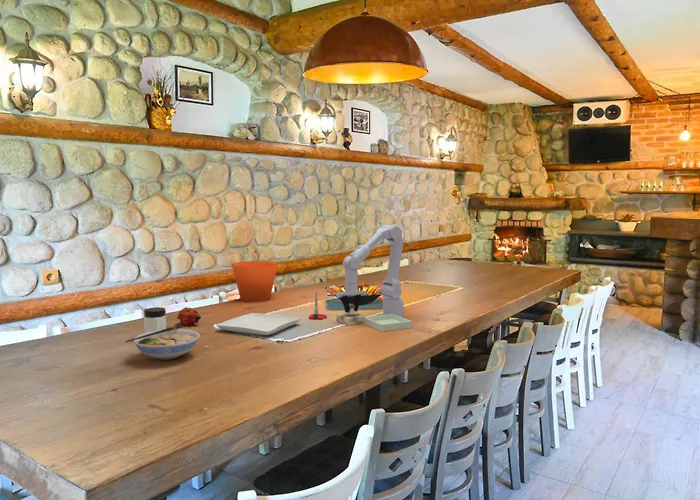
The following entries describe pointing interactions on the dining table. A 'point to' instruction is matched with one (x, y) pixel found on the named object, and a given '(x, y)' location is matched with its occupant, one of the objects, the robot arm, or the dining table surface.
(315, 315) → the tow hook
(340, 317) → the pin block
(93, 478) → the dining table surface
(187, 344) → the ramen bowl
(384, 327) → the tray
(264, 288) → the flowerpot
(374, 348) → the dining table surface
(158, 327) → the jar
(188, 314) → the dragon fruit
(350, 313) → the steel pin
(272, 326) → the square plate
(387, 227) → the robot arm
